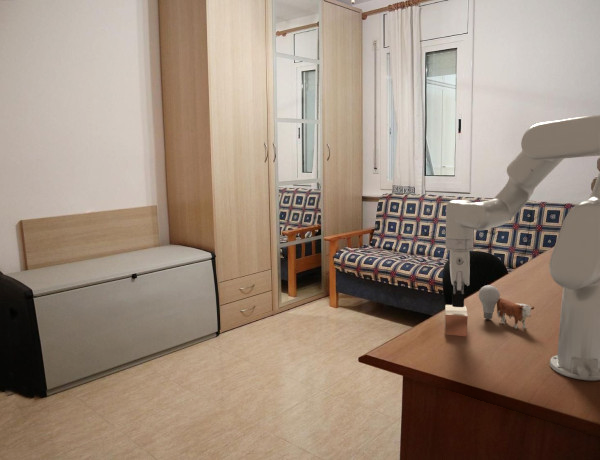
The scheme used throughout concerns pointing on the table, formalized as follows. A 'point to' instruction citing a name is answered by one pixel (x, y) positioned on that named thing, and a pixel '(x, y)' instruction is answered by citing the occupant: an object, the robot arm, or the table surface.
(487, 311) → the lightbulb
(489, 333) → the table surface
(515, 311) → the bull figurine
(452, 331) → the birch block
